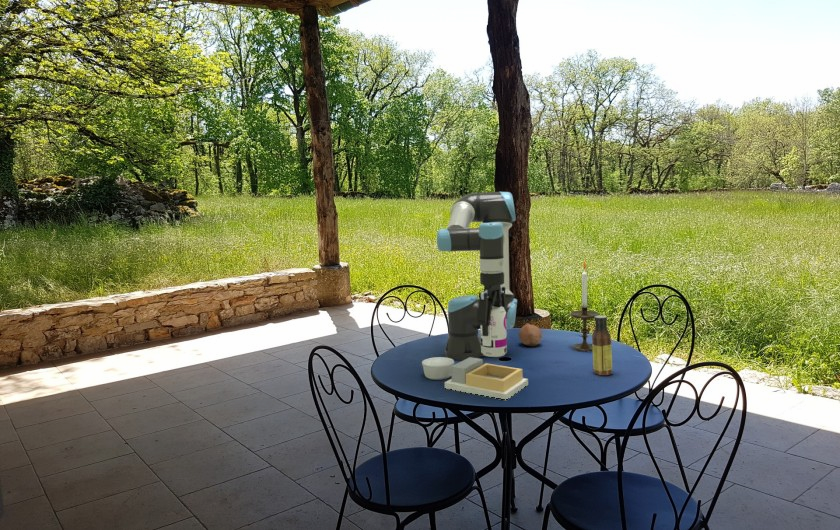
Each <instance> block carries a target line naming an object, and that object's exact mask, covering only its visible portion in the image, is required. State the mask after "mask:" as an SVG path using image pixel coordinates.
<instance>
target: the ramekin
mask: <svg viewBox="0 0 840 530" xmlns="http://www.w3.org/2000/svg"><path fill="white" fill-rule="evenodd" d="M421 365H422V368H423V372H424V376H425V377H426V378H427V379H429V380H434V381H435V380H436V381H437V380H438V381H439V380H440V381H441V380H447V379H449V378H452V374H451V366H453V365H455V360H454V359H451V358H447V357H446V356H445V357H444V356H437V357H436V356H435V357H430V358H426V359H423V360H422V361H421Z"/></svg>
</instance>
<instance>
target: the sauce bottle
mask: <svg viewBox="0 0 840 530" xmlns="http://www.w3.org/2000/svg"><path fill="white" fill-rule="evenodd" d="M593 319H594V323H595V324H594V325H595V327H594V331H593V333H592V335H591V338H592V340H591V341H592V349H593V351H592V368H593V372H594V374H595V375H598V376H610V375H612V374H613V352H612V348H613V347H612V336H611V333H610V331H609V329H608V326H607V324H608V322H607V321H608V317H607V316H606V315H601V314H599V315H598V316H595V317H594V318H593Z"/></svg>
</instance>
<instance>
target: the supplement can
mask: <svg viewBox="0 0 840 530" xmlns="http://www.w3.org/2000/svg"><path fill="white" fill-rule="evenodd" d="M489 325H491V346H483V339H482V325H480V328H481V329H480V341H481V353H483V356H485V357H490V358H491V357H493V358H499V357H503V356H505V355H506V354H507V352H508V347H507V345H508V344H507V343H508V341H507V340H508V339H507V338H508V337H507V329H506V311H505V309H504V307H502V306H501V307H495V306H493V307H492V310H491V318H490V324H489Z"/></svg>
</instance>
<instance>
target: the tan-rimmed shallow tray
mask: <svg viewBox="0 0 840 530" xmlns="http://www.w3.org/2000/svg"><path fill="white" fill-rule="evenodd" d="M523 373H524V372H523V368H520V367H519V368H517V367H510V366H506V365H500V364H499V365H498V364H492V363H487V362H485V363H484V361H483V359H482V358H472V357H469V358H467V359H465V360H460V361H459V362H457V363H454V365H453V366H451V374H452V375H451V378H450V379H448V380H447V381H444V389H445V388H446V389H445V390H450V389H452V391H455V390H456V391H457V392H460V391H461V392H462V393H465V392H466V394H470V393H472V394H471V395H475V394H478V395H477V396H480V395H484V396H483V397H486V396H489V397H488V398H491V397H495V398H494V399H496V398H501V399H505V400H504V401H507V400H506V399H508V398H509V399H510V398H512V397H513V396H515V395H516V394H517V393H519V392H520V391H522V390H523V389H525V388H526V387H527V386H529V378H525V377H524V376H523V375H524V374H523ZM525 386H526V387H525ZM524 387H525V388H524ZM521 389H522V390H521ZM456 391H455V392H456ZM518 391H519V392H518ZM515 393H516V394H515ZM514 394H515V395H514ZM511 396H512V397H511ZM501 399H500V400H501ZM509 399H508V400H509Z"/></svg>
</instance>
